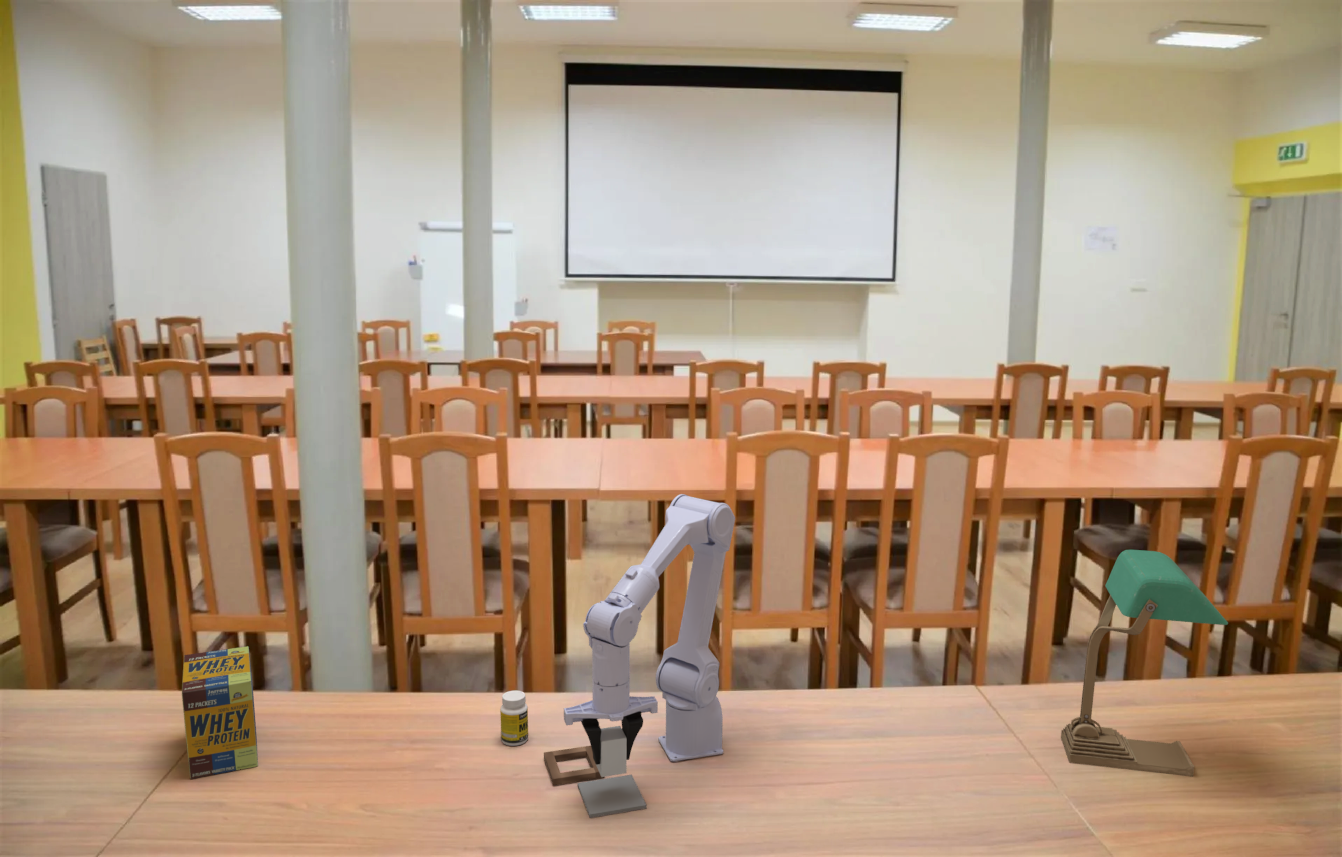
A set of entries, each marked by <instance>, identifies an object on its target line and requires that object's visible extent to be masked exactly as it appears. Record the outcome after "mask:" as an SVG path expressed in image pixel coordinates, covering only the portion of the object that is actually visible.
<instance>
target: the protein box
mask: <svg viewBox="0 0 1342 857" xmlns="http://www.w3.org/2000/svg"><path fill="white" fill-rule="evenodd" d="M249 648H250V647H249V646H248V645H247V646H241V647H233V648H226V649H221V650H220V649H218V650H211V651H205V652H204V651H203V652H197V653H190V654H184V655H183V669H182V682H181V683H182V684H181V699H182V701H181V702H182V710H183V720H184V730H185V731H184V733H185V741H186V751H187V760H188V770H189V778H190V780H193V778H194V779H198V778H203V777H209V776H215V775H218V774H219V775H221V774H224V773H230V772H236V771H240V769H241V770H245V769H250V768H255V767H258V766H259V758H258V757H259V756H258V738H257V726H256V711H255V701H254V700H255V699H254V698H255V697H254V686H253V684H254V683H253V674H252V665H251V659H250V656H251V655H250V649H249ZM214 774H215V775H214Z"/></svg>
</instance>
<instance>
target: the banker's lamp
mask: <svg viewBox="0 0 1342 857" xmlns="http://www.w3.org/2000/svg"><path fill="white" fill-rule="evenodd" d="M1105 588H1106V590H1107V592H1108V593H1109V597H1108V599H1107V600H1106V603H1105V605H1104V608H1103V611H1102V613H1101V616H1100V618H1099V621H1098V622H1097V624H1096V625H1095V627H1094V629H1093V630H1092V631H1091V634H1090V635H1089V637H1088V638H1089V639H1088V641H1087V646H1086V655H1085V656H1086V657H1085V664H1084V665H1085V666H1084V674H1083V684H1082V693H1081V694H1082V695H1081V703H1080V714H1079V716H1078V717H1074V718H1072V719H1071V721H1070V723H1067V724H1066V726H1064V728H1063V729H1061V733H1060V739H1061V742H1062V745H1063V748H1064V752H1065V754H1066V757H1067V760H1068V763H1070V764H1077V765H1078V764H1079V765H1089V766H1096V767H1104V768H1105V767H1106V768H1113V769H1125V770H1132V771H1133V770H1134V771H1142V772H1143V771H1144V772H1149V773H1150V772H1151V773H1161V774H1169V775H1178V776H1186V777H1187V776H1188V777H1194V773H1195V772H1194V771H1195V765H1194V763H1193V762H1192V760H1191V758H1190V756H1189V755H1188V753H1187V751H1186V750H1185V748H1184V746H1183V744H1182V742H1181V741H1180V740H1176V741H1173V742H1161V741H1151V740H1150V741H1149V740H1144V739H1143V740H1141V739H1132V738H1127V737H1126V736H1124V735H1123V734H1121V733H1120V732H1119V731H1117V729H1114V728H1113V727H1105V726H1101V725H1100V723H1099V722H1097V720H1096V721H1095V720H1094V719H1092V715H1093V713H1092V712H1093V705H1094V696H1095V695H1094V694H1095V687H1096V686H1095V684H1096V675H1097V665H1098V654H1099V649H1100V645H1101V642H1102V640H1103V638H1104V636H1105V635H1106V634H1107V633H1109V632H1117V633H1123V634H1128V635H1132V636H1138V635H1140V634H1141V633H1142V632H1143V630H1144V628H1145V627H1146V625H1147V623H1148V621H1149V620H1158V621H1170V622H1173V621H1174V622H1181V623H1182V622H1183V623H1184V622H1185V623H1195V624H1206V625H1207V624H1208V625H1218V626H1227V625H1228V624H1229V622H1228V620H1226V618H1225V617H1224V616H1223V615H1222V614H1221V612H1220V611H1219V610H1218V609H1217V608H1216V606H1215V605H1214V604H1213V603H1212V601H1210V600H1209V598H1208V597H1207V596H1206V595H1205V594H1204V593H1203V591H1202V590H1200V588H1199V587H1198V586H1197V585H1196V584H1195V583H1194V581H1192V579H1190V577H1189V576H1188V575H1187V574H1186V573H1185V572H1184V571H1183V569H1181V568H1180V567H1179V566H1178V565H1177V563H1176V562H1175V561H1174V560H1173V559H1172V558H1171V557H1169V556H1168V555H1167V554H1165V553H1162V552H1160V551H1155V550H1143V549H1142V550H1139V549H1125V550H1123V551H1122V552H1120V554H1119V555H1118V556H1117V559H1115V563H1114V565H1113V567H1112V569H1111V572H1110V573H1109V577H1108V579H1107V581H1106V583H1105ZM1116 607H1117V608H1118V610H1119V612H1120V614H1121V615H1123V617H1128V618H1133V619H1134V618H1136V619H1135V621H1134V623H1133V624H1132V625H1131V626H1130V627H1120V626H1119V627H1115V626H1109V624H1110V622H1111V619H1112V617H1113V614H1114V612H1115V609H1116Z"/></svg>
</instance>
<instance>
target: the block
mask: <svg viewBox="0 0 1342 857" xmlns="http://www.w3.org/2000/svg"><path fill="white" fill-rule="evenodd" d="M600 728H601V727H600ZM600 755H601V761H600V764H597V765H596V766H597V768H598V770H599V773H600V775H601V777H606V778H607V777H612V776H618V775H624V774H628V773H627V769H628V768H627V765H628V763H627V761H628V760H627V738H626V736H625V734H624V732H623V730H622V725H616V726H615V725H614V726H609V727H602V728H601V738H600Z"/></svg>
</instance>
